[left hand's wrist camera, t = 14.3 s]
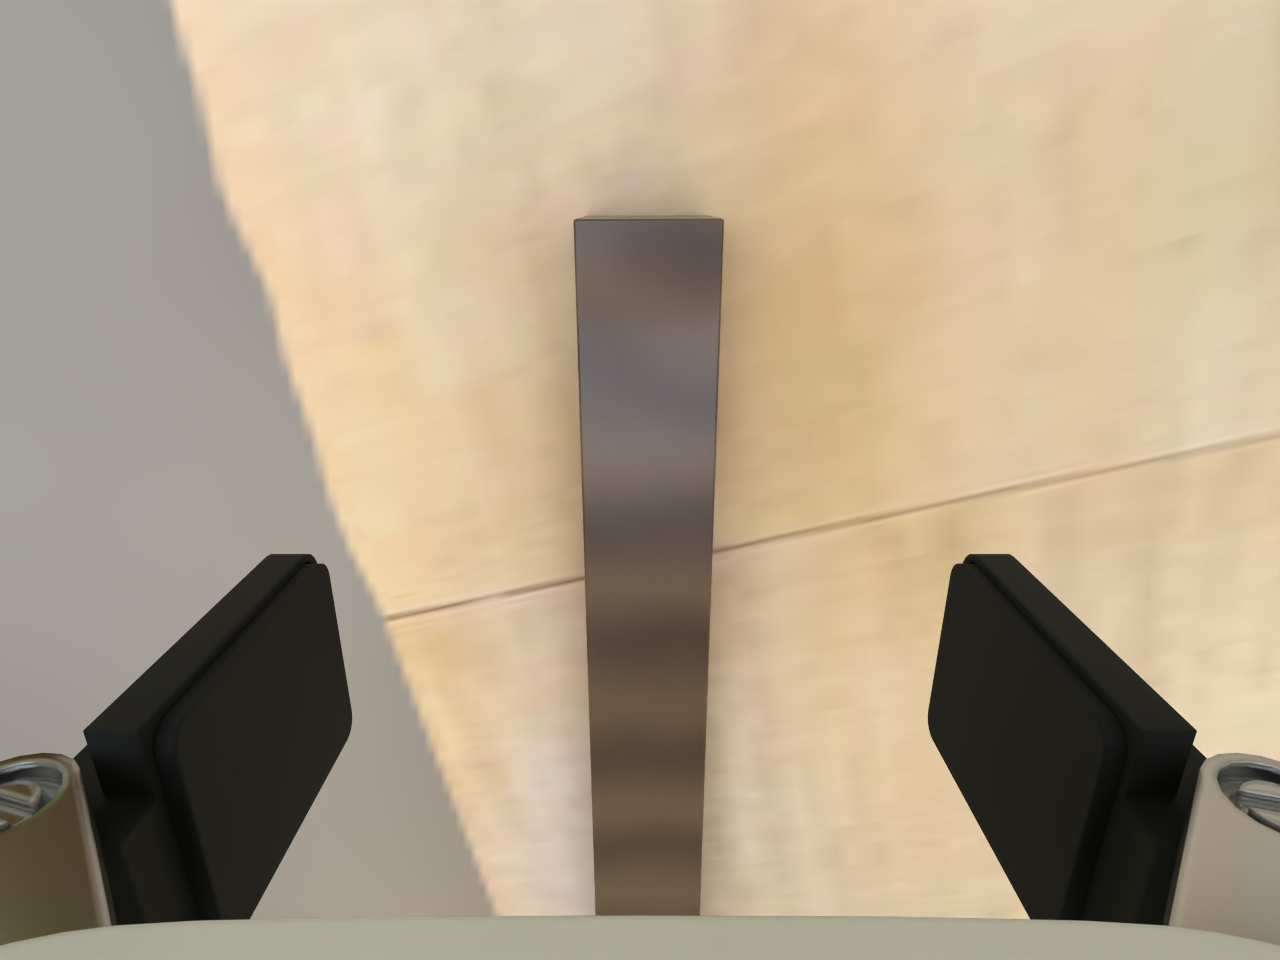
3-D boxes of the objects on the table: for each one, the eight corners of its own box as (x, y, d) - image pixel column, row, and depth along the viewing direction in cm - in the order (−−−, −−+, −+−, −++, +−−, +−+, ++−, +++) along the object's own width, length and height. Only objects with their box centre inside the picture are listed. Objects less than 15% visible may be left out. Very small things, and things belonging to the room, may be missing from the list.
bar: (585, 216, 35) (573, 219, 29) (709, 215, 35) (724, 218, 29) (605, 985, 53) (601, 1089, 46) (687, 985, 53) (693, 1089, 46)
